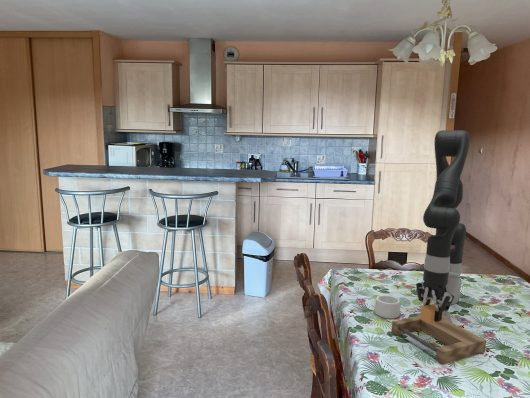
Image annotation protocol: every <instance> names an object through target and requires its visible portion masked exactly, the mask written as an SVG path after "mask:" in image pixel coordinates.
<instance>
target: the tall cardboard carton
mask: <svg viewBox="0 0 530 398" xmlns="http://www.w3.org/2000/svg"><path fill="white" fill-rule="evenodd" d="M439 307H440V306H439ZM435 311H436V310H435V304H434V303H430V304H429V305H425V306H423V305H421V307H420V314H419V315H420V319H421V320H423V321H425V322H426V323H428V324H433V323H437V322H435V321H434V317H435ZM444 312H445V311H443V312H442V319H441V320H440V321H439V322H442V321H443V317H444Z"/></svg>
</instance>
